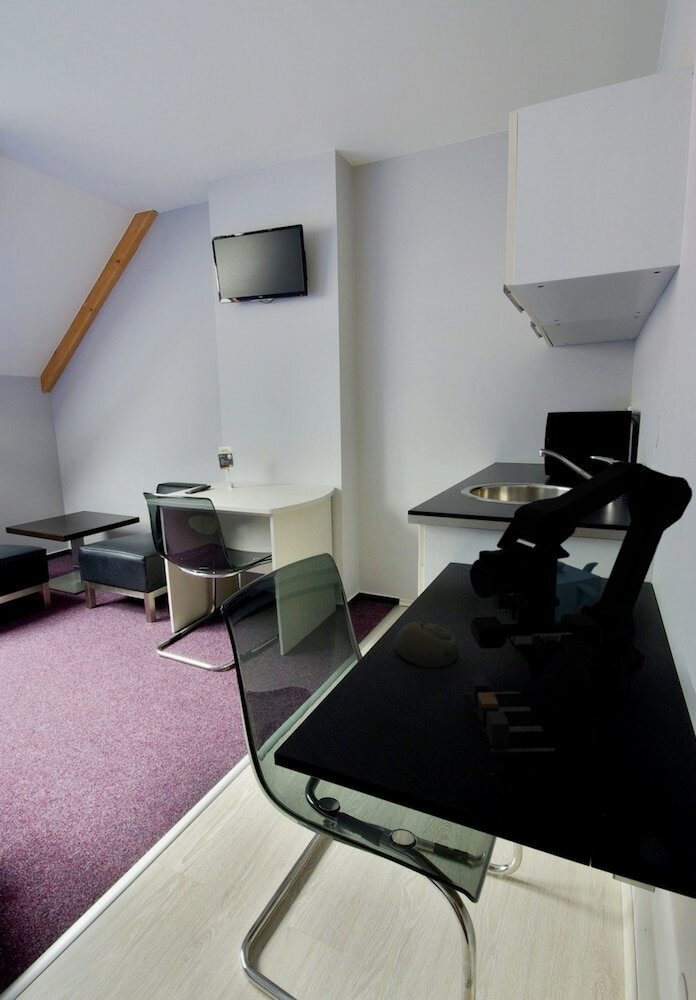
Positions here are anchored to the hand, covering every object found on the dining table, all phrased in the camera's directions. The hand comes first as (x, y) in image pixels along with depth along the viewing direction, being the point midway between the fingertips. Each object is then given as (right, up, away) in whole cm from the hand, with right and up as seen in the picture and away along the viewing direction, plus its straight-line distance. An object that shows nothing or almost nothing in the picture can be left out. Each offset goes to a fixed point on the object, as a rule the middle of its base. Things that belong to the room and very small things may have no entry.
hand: (532, 680), depth 79 cm
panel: (-5, -7, -1) cm, 8 cm away
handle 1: (-8, -5, +3) cm, 9 cm away
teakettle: (+18, 0, +36) cm, 40 cm away
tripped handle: (-8, -6, -2) cm, 10 cm away
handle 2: (-8, -6, -7) cm, 12 cm away
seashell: (-14, -4, +19) cm, 24 cm away
